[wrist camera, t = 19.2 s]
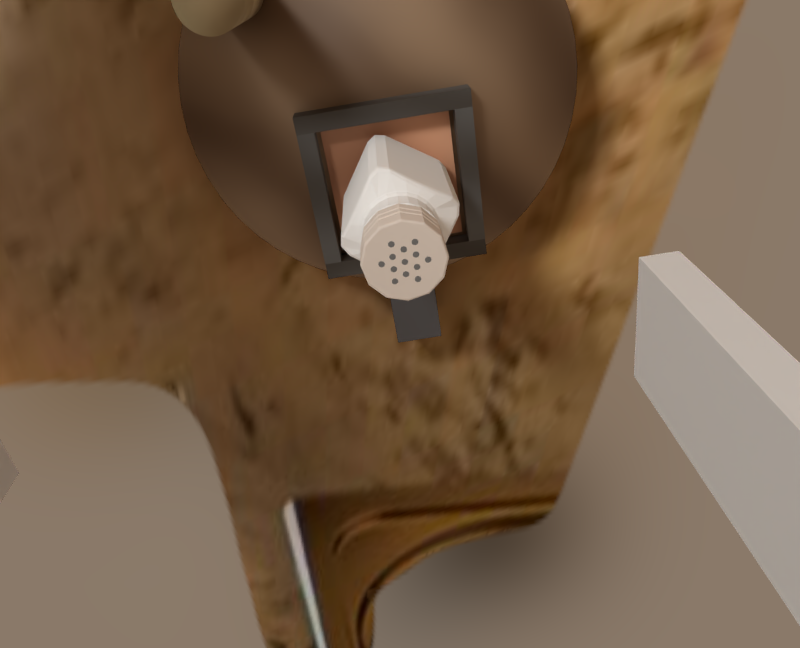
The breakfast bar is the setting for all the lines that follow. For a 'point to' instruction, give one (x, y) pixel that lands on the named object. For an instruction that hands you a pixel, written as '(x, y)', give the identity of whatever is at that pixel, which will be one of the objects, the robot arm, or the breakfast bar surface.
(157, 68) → the breakfast bar surface
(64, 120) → the breakfast bar surface
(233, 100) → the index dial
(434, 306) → the charcoal grey block
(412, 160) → the pepper shaker
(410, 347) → the breakfast bar surface
